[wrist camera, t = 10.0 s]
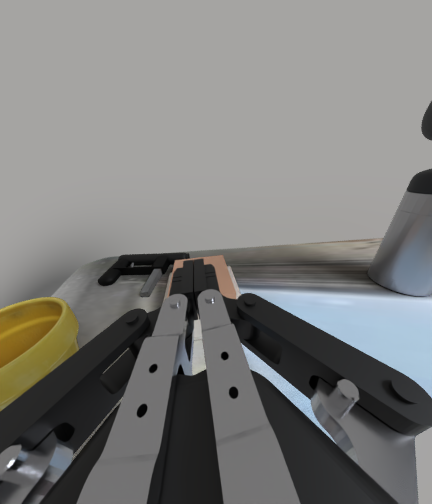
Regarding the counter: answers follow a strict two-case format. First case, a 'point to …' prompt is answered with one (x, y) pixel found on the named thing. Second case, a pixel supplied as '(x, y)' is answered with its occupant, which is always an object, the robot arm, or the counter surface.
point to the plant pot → (33, 343)
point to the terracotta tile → (221, 273)
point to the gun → (141, 268)
